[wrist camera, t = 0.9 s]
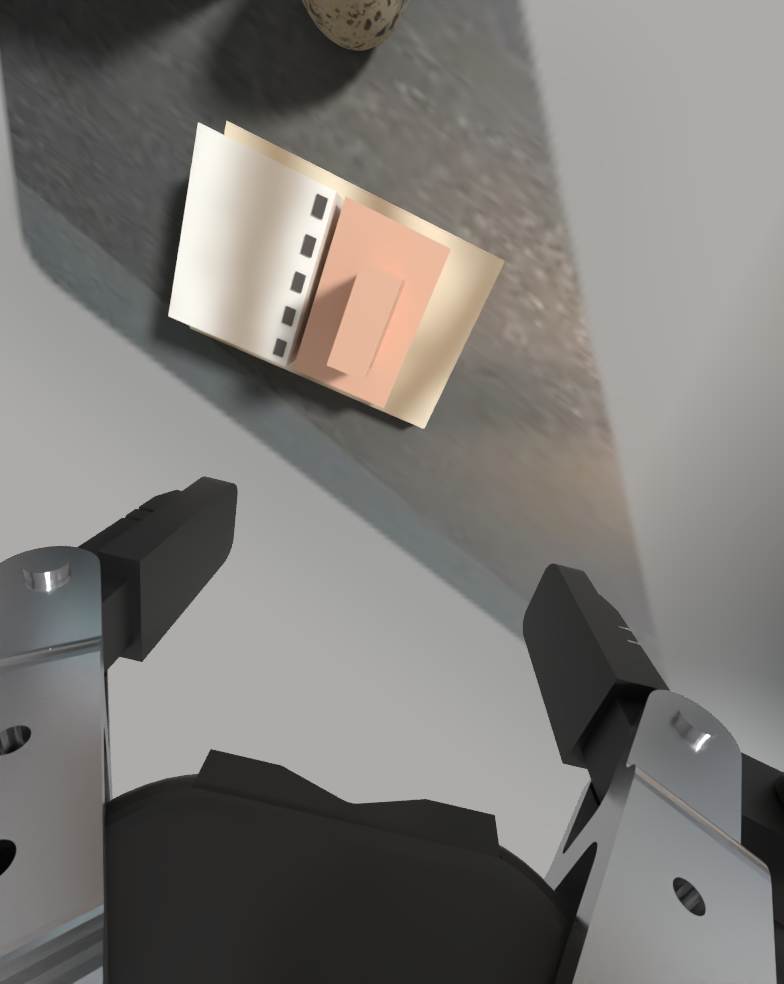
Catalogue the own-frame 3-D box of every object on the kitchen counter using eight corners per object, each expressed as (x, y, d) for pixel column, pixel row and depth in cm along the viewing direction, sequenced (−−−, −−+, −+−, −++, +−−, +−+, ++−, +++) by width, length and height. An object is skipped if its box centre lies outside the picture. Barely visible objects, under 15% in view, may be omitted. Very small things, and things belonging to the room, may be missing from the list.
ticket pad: (202, 325, 30) (164, 332, 26) (240, 132, 25) (200, 97, 20) (423, 421, 32) (424, 443, 28) (498, 262, 27) (515, 257, 23)
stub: (302, 363, 29) (262, 389, 21) (351, 204, 24) (323, 166, 17) (386, 399, 29) (376, 437, 22) (447, 252, 25) (462, 236, 18)
